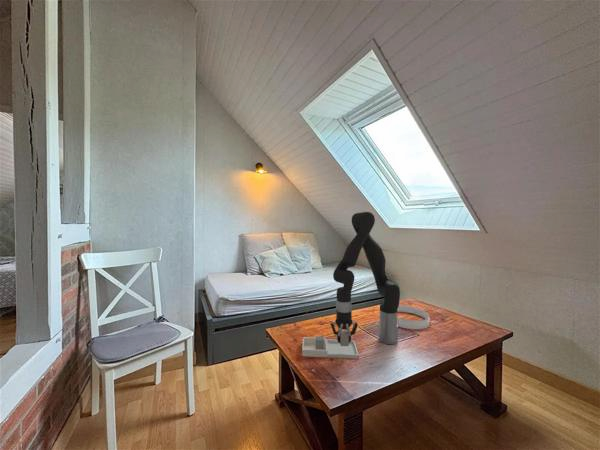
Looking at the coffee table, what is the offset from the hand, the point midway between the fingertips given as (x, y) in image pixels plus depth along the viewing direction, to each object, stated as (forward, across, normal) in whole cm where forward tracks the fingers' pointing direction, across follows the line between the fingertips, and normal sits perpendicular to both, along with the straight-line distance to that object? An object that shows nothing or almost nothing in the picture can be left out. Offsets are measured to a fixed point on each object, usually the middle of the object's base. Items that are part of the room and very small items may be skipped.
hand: (344, 342), depth 126 cm
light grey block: (+1, 0, 0) cm, 1 cm away
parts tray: (+7, +1, -4) cm, 8 cm away
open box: (+6, +15, -3) cm, 16 cm away
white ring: (+9, -48, -43) cm, 65 cm away
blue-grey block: (+6, +12, -3) cm, 14 cm away
